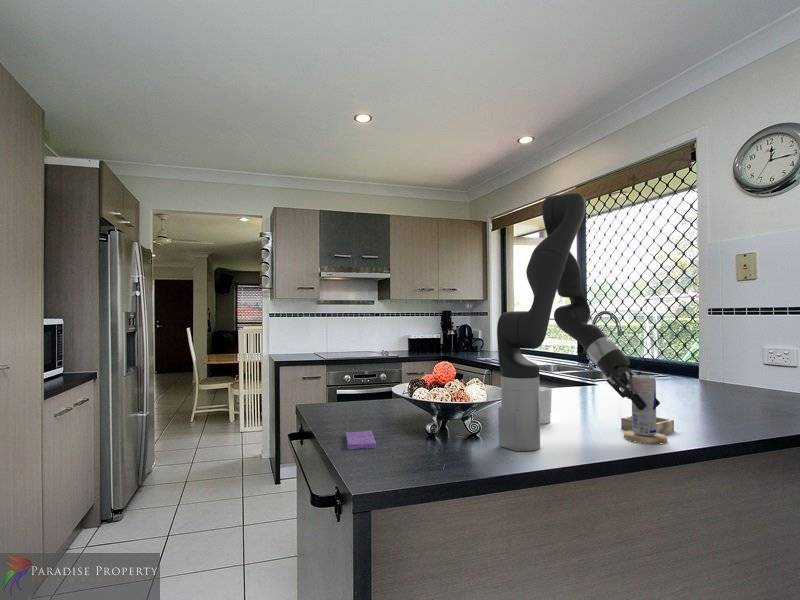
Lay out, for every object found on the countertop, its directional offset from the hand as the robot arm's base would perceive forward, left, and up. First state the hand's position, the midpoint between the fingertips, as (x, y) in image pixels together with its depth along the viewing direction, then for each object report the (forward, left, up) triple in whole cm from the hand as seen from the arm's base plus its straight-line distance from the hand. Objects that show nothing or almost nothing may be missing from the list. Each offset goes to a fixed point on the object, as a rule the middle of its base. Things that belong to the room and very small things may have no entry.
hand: (650, 406), depth 121 cm
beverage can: (0, +2, -7) cm, 8 cm away
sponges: (-63, +40, -9) cm, 75 cm away
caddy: (+10, +7, -9) cm, 15 cm away
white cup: (-7, +31, -9) cm, 33 cm away
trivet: (0, +2, -9) cm, 9 cm away
